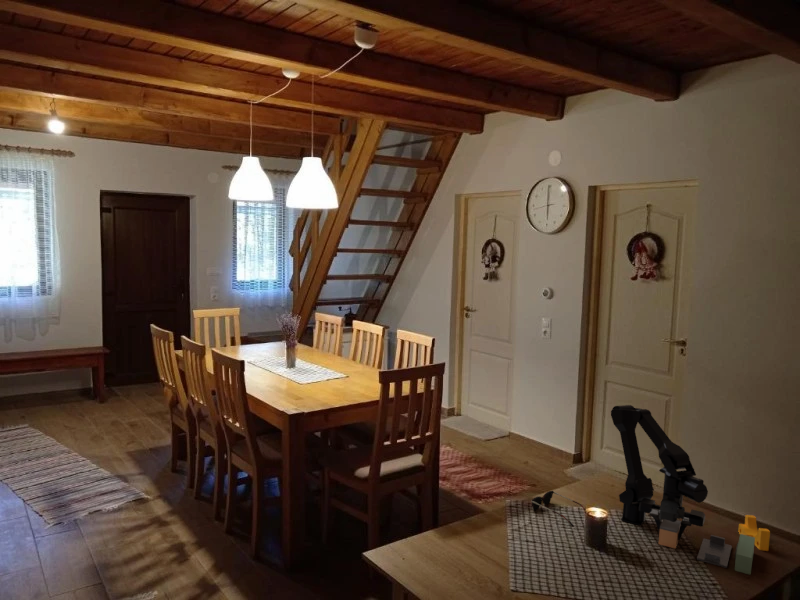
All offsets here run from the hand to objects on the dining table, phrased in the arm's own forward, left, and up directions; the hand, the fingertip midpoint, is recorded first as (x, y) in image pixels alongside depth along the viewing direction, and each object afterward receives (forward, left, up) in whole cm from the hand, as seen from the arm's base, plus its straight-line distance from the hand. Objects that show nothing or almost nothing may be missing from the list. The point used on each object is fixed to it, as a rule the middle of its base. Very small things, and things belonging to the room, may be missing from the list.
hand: (669, 537), depth 195 cm
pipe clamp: (+22, +17, -2) cm, 28 cm away
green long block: (+21, 0, -1) cm, 21 cm away
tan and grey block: (0, 0, -1) cm, 1 cm away
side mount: (+13, 0, -1) cm, 13 cm away
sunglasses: (-35, -2, -2) cm, 35 cm away
